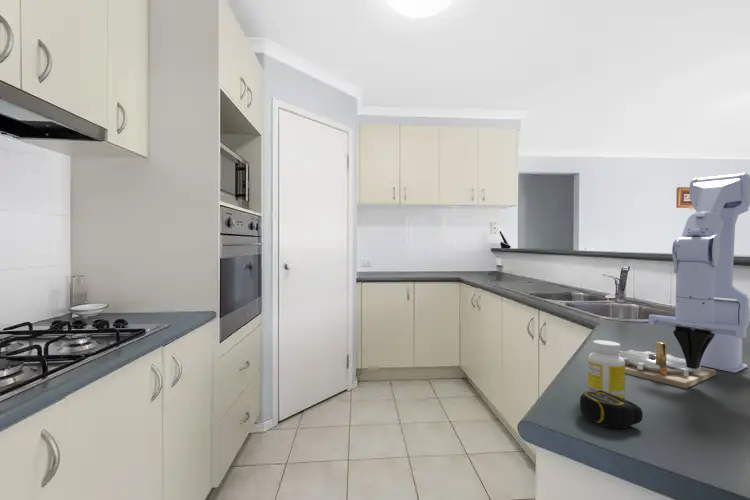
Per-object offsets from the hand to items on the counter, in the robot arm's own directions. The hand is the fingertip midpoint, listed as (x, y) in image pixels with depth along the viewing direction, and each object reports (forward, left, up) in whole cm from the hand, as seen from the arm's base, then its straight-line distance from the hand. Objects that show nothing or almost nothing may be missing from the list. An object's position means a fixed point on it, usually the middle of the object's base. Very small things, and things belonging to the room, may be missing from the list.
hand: (693, 367), depth 73 cm
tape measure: (+32, -1, -4) cm, 32 cm away
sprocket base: (-5, -8, -3) cm, 10 cm away
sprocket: (-5, -8, -2) cm, 9 cm away
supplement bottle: (+24, -5, -4) cm, 25 cm away
